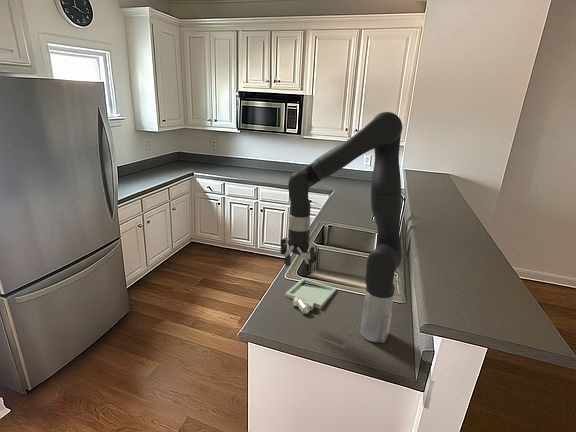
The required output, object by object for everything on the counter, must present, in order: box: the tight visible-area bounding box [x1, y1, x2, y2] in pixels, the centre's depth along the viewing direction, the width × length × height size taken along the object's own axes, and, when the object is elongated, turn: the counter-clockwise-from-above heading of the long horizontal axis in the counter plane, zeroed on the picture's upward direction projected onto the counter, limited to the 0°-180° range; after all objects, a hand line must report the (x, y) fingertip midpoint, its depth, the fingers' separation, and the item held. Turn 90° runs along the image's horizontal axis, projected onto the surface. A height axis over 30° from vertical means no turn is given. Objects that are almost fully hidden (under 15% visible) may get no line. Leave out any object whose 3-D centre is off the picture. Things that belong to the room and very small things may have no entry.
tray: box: [285, 277, 337, 310], centre depth 142 cm, size 16×16×2 cm
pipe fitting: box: [292, 297, 315, 315], centre depth 131 cm, size 8×4×7 cm
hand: (297, 268), depth 123 cm, fingers open, 8 cm apart
